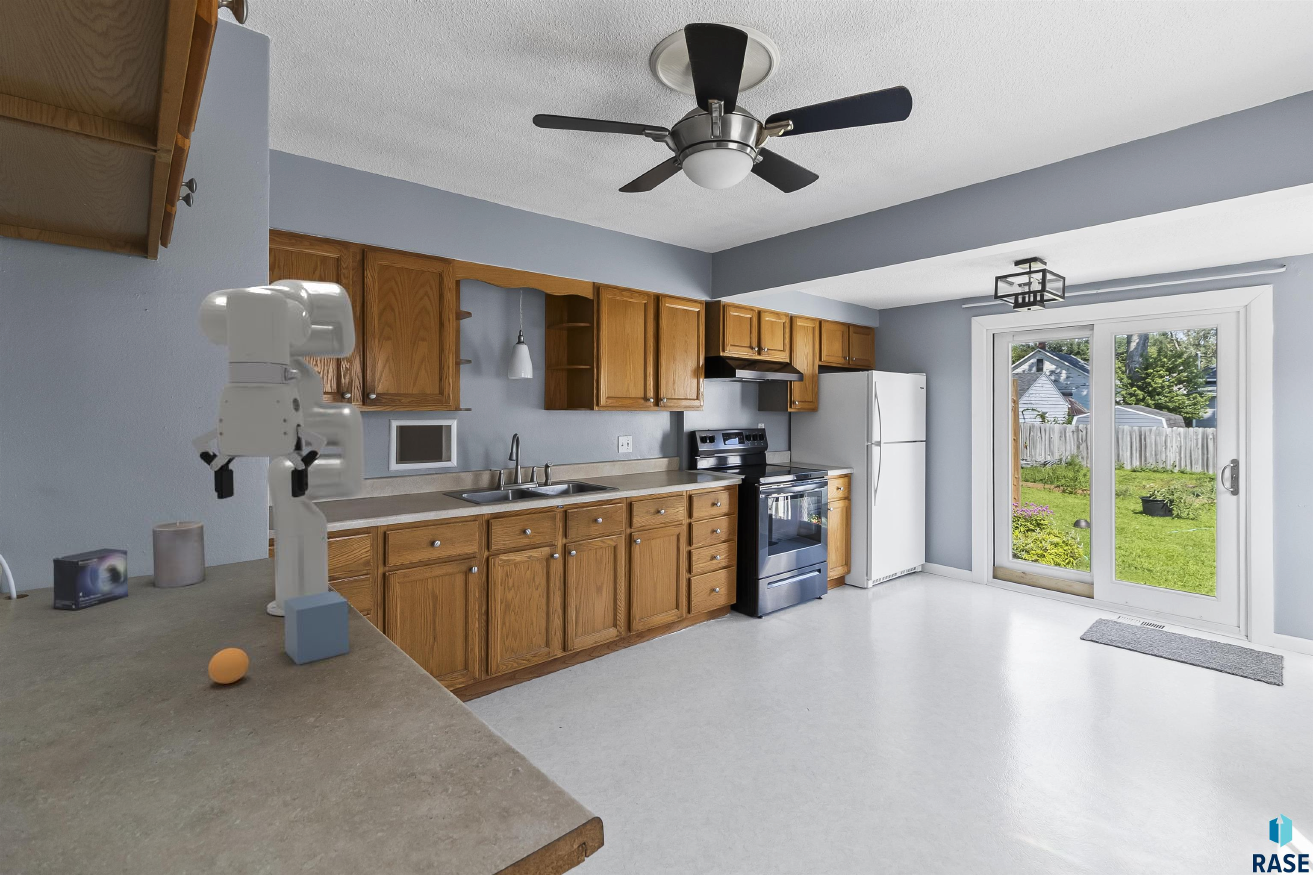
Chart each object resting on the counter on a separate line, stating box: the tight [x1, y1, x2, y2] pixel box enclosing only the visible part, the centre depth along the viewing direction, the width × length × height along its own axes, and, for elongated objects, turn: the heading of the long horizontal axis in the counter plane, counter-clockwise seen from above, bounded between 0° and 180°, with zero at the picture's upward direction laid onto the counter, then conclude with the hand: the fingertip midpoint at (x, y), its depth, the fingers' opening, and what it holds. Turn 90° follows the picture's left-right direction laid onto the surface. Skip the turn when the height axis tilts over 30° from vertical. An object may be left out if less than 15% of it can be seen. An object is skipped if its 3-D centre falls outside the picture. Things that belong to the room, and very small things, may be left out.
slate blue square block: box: [284, 590, 350, 666], centre depth 105 cm, size 8×8×9 cm
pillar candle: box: [151, 519, 206, 589], centre depth 148 cm, size 10×10×15 cm
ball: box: [207, 647, 250, 685], centre depth 94 cm, size 5×5×5 cm
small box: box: [52, 547, 129, 611], centre depth 133 cm, size 11×6×10 cm, turn 168°
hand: (262, 497), depth 90 cm, fingers open, 9 cm apart
